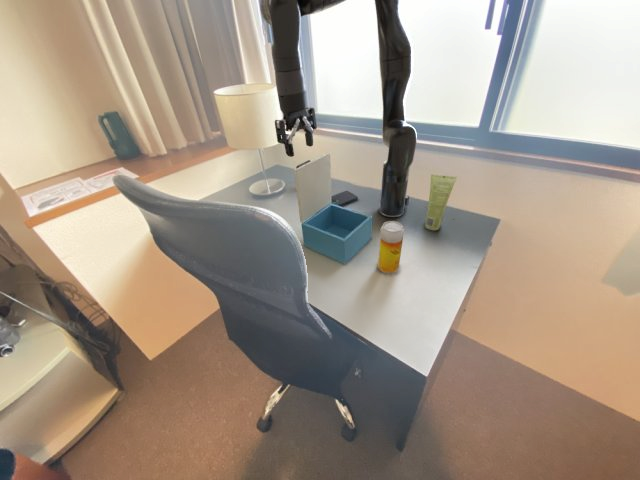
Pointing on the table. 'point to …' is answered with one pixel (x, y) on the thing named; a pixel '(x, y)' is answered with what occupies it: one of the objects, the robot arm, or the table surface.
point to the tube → (438, 199)
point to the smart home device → (343, 198)
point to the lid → (313, 186)
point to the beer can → (390, 246)
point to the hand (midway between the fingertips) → (300, 150)
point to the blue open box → (337, 232)
